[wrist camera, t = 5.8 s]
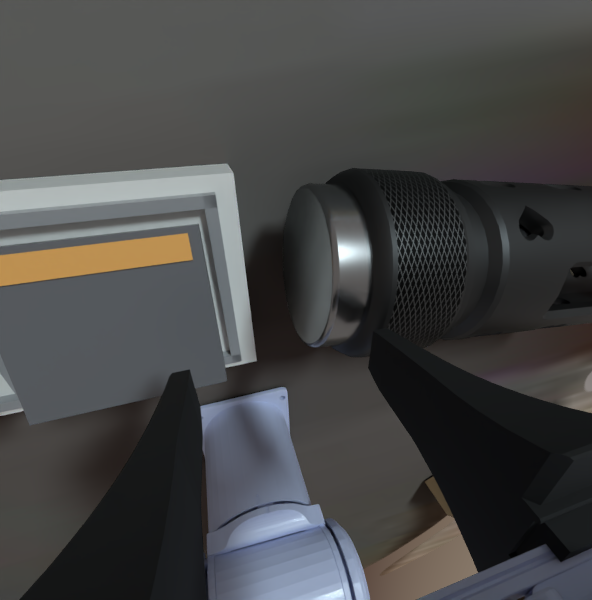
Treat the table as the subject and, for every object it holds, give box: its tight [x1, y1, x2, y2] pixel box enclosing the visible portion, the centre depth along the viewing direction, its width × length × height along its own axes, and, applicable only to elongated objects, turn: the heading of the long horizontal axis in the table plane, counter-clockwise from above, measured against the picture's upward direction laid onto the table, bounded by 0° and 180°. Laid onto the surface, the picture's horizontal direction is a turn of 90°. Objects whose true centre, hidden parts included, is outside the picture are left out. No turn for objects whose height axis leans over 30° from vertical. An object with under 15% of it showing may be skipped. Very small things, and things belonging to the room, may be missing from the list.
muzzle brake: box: [283, 168, 592, 357], centre depth 20 cm, size 10×28×10 cm, turn 85°
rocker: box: [0, 224, 227, 425], centre depth 15 cm, size 8×9×2 cm
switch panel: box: [0, 164, 257, 416], centre depth 16 cm, size 12×24×4 cm, turn 92°
